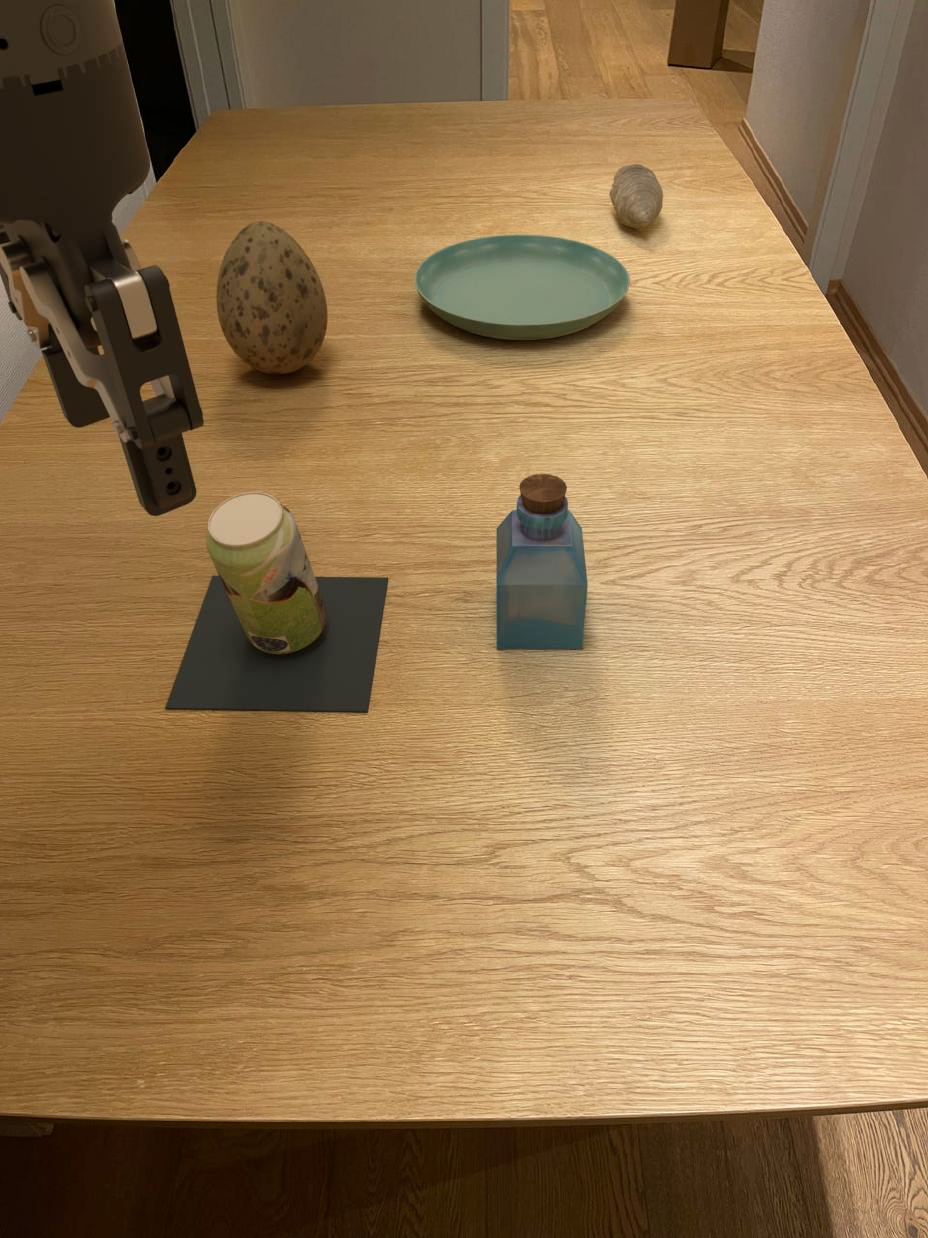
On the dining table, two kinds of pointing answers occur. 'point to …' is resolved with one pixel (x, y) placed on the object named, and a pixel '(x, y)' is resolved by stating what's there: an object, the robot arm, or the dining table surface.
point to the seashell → (636, 195)
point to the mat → (284, 656)
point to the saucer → (521, 286)
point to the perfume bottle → (540, 570)
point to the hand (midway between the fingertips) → (129, 460)
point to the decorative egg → (270, 300)
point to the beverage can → (266, 572)
